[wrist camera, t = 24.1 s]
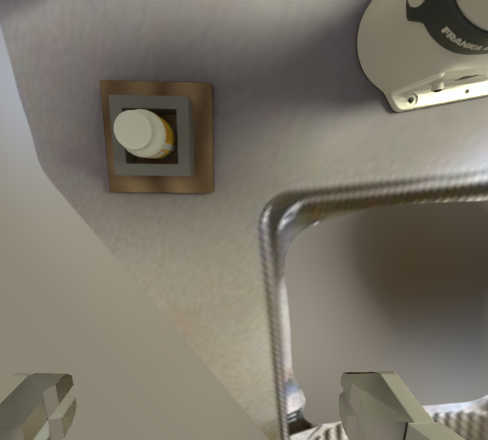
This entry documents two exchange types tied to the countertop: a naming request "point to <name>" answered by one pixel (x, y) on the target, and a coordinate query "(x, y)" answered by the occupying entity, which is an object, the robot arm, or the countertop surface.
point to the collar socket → (182, 120)
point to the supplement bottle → (145, 134)
